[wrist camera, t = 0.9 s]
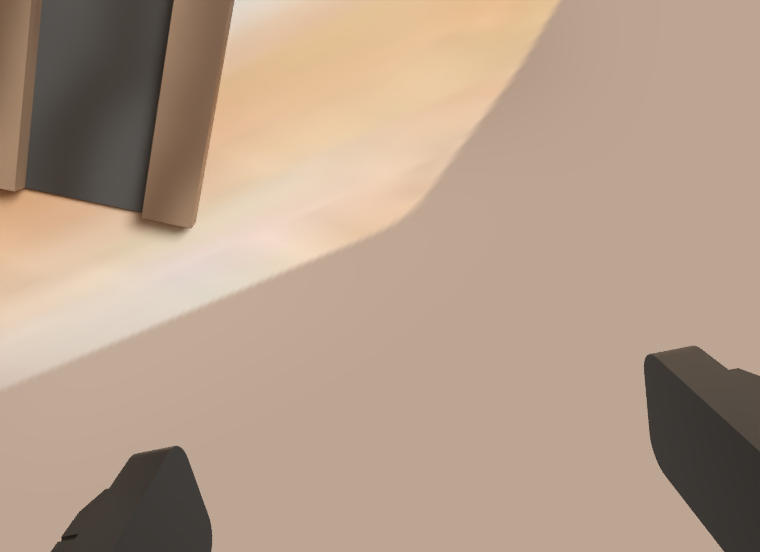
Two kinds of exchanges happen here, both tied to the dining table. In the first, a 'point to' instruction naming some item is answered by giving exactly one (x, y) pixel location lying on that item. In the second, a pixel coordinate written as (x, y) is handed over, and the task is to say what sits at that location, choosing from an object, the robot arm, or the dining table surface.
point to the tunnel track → (111, 100)
